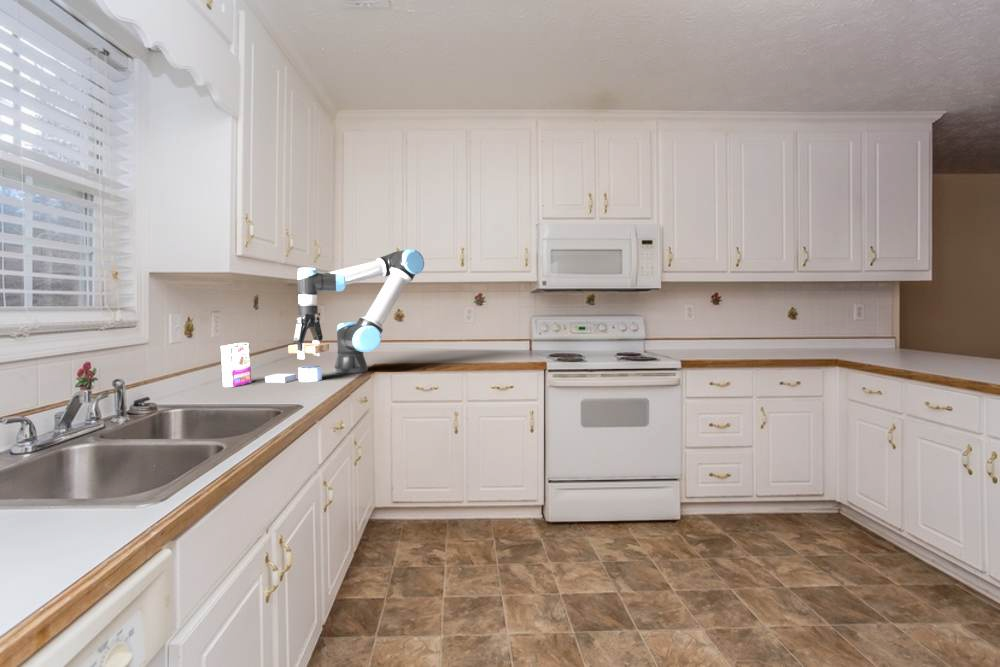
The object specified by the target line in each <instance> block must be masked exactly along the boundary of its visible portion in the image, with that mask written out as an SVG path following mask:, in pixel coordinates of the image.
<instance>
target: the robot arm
mask: <svg viewBox="0 0 1000 667" xmlns="http://www.w3.org/2000/svg"><path fill="white" fill-rule="evenodd" d="M424 267H425V260H424V257H423V255H422V254H421V252H420V251H418V250H416V249H411V248H407V249H405V250H397V251H394V252H392V253H389V254H387V255H383V256H380V257H377V258H376V259H375V260H373V261H369V262H365V263H361V264H357V265H353V266H349V267H344V268H341V269H337V270H333V271H328V272H325V273H322V272H321V273H320V272H318V270H317V268H315V267H299V268H298V269H297V278H296V279H297V294H298V296H297V299H298V301H297V302H298V303H297V304H298V311H297V312H298V315H301V316H300V317H296V321H295V322H296V323H295V324H296V325H295V329H294V330H295V331H294V335H293V342H294V343H295V344H297V350H298V353H297V359H298V360H305V359H306V356H305V355H306V353H305V344H306V342H304V340H305V338H306V335H307V331H308V330H310V333H311V335H312V338H313V340H312V344H321V343H320V342H321V341H323V337H324V336H323V332H322V328H321V323H320V317H319V316H317V317H316V315H318V309H319V308H318V304H319V303H318V293H321V292H343V291H344V290H345V289H346V286H347V285H351V284H354V283H357V282H361V281H366V280H369V279H373V278H376V277H377V278H378V277H382V278H384V277H385V278H386V277H387V279H386V281H385V282H384V284H383V285H382V287H381V289H380V290H379V292H378V294H377V296H376V297H375V299H374V300H373V302H372V304H371V306H370V307H369V309H368V310H367V312H366V314H365V315H364V316H361V317H359V319H358V320H357V321H352V322H351V321H348V322H341V323H338V325H337V327H336V341H337V346H336V347H337V358H336V360H335V364H334V368H333V370H334V371H333V372H334V373H335V374H358V373H359V374H360V373H365V372H368V370H369V368H368V364H367V361H366V358H365V356H364V353H368V352H372V351H375V350H376V349H377V348H378V347H379V346H380V344H381V341H382V333H383V331H384V329H383V324H384V323H385V321H386V319H387V317H388V316H389V314H390V312H391V311H392V309H393V308H394V305H395V304H396V302H397V301H398V298H399V297H400V295H401V293H402V292H403V290H404V288H405V287H406V285H407V284H408V283H411V282H412V281H413V280H414V278H415V276H416V275H419V274H420V273H421V272H423V270H424ZM312 355H313V357H320V356H321V352H320V353H312Z"/></svg>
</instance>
